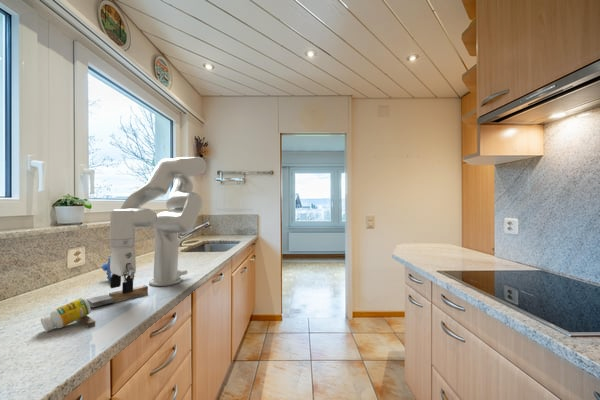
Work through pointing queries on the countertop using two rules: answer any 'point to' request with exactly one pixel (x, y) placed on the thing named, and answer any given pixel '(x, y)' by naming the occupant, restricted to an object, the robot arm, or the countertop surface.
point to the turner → (117, 296)
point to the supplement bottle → (66, 314)
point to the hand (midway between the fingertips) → (121, 289)
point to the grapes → (107, 268)
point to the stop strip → (87, 321)
